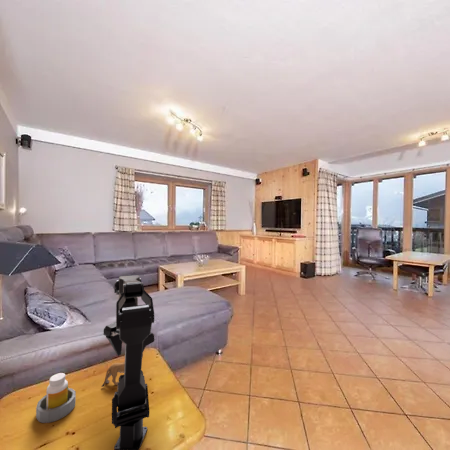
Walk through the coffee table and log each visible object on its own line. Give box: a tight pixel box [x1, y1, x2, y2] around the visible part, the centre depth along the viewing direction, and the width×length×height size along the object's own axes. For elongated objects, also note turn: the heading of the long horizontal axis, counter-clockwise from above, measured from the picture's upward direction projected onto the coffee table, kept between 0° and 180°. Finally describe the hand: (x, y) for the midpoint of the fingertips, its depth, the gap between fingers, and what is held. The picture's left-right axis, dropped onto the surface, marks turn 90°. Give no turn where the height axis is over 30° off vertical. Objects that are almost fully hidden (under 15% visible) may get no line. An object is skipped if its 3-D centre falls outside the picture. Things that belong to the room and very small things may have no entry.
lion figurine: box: [101, 353, 144, 388], centre depth 86 cm, size 15×5×9 cm, turn 133°
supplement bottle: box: [45, 372, 69, 410], centre depth 72 cm, size 5×5×10 cm
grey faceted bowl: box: [35, 387, 77, 424], centre depth 72 cm, size 10×10×3 cm
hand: (128, 359), depth 78 cm, fingers open, 9 cm apart
